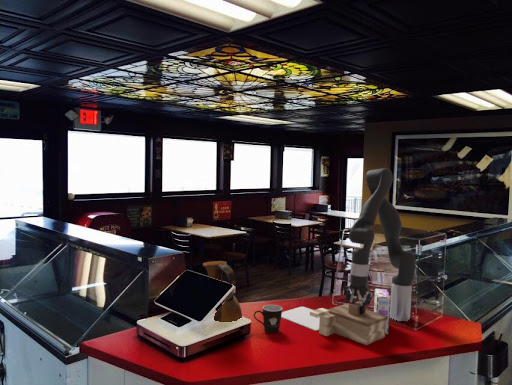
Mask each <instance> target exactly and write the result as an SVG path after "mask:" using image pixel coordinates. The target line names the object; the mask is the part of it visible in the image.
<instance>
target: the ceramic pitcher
mask: <svg viewBox="0 0 512 385" xmlns="http://www.w3.org/2000/svg"><path fill="white" fill-rule="evenodd" d="M202 267H204V269H205V270H206V272H207V275H208V276H209V278H210V277H212V278H215V279H218V280H221V281H223V282H224V280H223V274H224V275H225V277H226V281H227V284H228V283H230V284H233V285H234V286H235V287H236V283H237V281H236V275H235V272H234V270H233V268H232V267H231V266H230V265H229V264H228V262H227V261H224V260H217V261H215V260H214V261H206V262H203V263H202ZM208 276H207V277H208ZM209 278H208V279H209ZM240 318H242V319H243V312H242V308H241V305H240V302H239V301H238V299H237V297H236V296H235V295H234V294H233V297H232V298H230V299H229V300H227V301H226V302H225V303H224V304H223V305H222V306H221V307H220V308H219V310H218V311H217V312H216V313H215V316H214V320H215V321H219V322H232V321H237V320H238V319H240Z"/></svg>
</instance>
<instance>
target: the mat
mask: <svg viewBox="0 0 512 385" xmlns="http://www.w3.org/2000/svg"><path fill="white" fill-rule="evenodd" d="M313 310H314V309H311V308H309V307H307V306H306V307H305V306H299V307H295V308H293V309H289V310H285V311H282V315H281V319H284V320H287V321H290V322H292V323H294V324H297V325H300V326H302V327H305V328H306V329H310V330H312V331H315V332H317V331H318V332H319V322H320V317H318V318H316V317H313V316H311V315H310V311H313Z"/></svg>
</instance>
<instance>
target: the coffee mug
mask: <svg viewBox="0 0 512 385" xmlns="http://www.w3.org/2000/svg"><path fill="white" fill-rule="evenodd" d="M283 310H284V309H283V307H282V306H280V305H278V304H266V305H263V306H262V311H261V310H256V311H254V313H253V317H254V319H255V321H257V322H258V323H260V324H262V325H263V331H264V332H265V333H267V334H278V333H279V332H280V327H281V326H280V325H281V320H282V318H281V315H282V312H283ZM257 313H260V314H261V315H262V316H263V318H262V319H263V322H262V321H261V320H260V319H258V318H257V317H256V314H257ZM277 332H278V333H277Z"/></svg>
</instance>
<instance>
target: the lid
mask: <svg viewBox="0 0 512 385" xmlns="http://www.w3.org/2000/svg"><path fill="white" fill-rule="evenodd" d="M360 306H361V305H360V301H359V300H358V301H355V302H354V303H351V304H350V303H344V304H342V305H341V304H340V305H338V306H334V307H331V308H329V309H327V310H329V313H330V314H333V315H336V316H339V317H341V318H344V319H347V320H350V321H353V322H356V323H359V324H362V325H364V326H367V327H369V326H372V325H374V324H377V323H379V322H382V321H384V320H386V319H388V316H385V315H382V314H379V313H376V312H374V310H369V309H366V308H367V305H366V306H365V312H364V313H363V314H360Z"/></svg>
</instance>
